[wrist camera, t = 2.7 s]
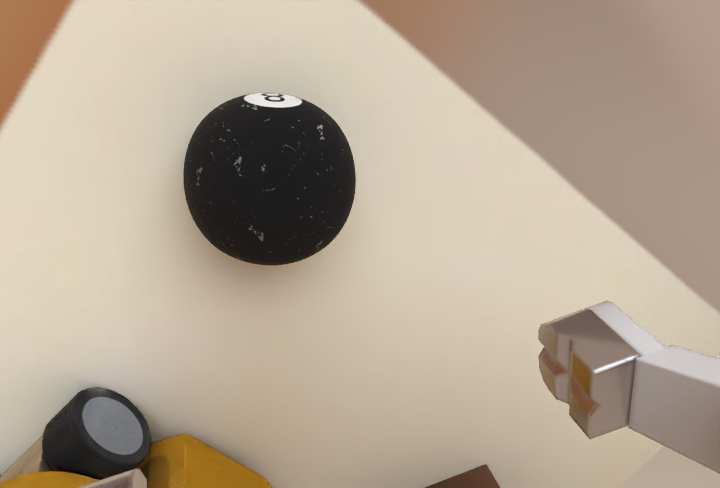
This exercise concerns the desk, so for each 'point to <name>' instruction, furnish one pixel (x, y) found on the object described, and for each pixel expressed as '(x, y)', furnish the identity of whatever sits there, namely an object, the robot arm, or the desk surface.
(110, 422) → the toy roller
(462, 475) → the brown wooden box
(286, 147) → the billiard ball
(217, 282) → the desk surface
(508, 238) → the desk surface
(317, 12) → the desk surface
